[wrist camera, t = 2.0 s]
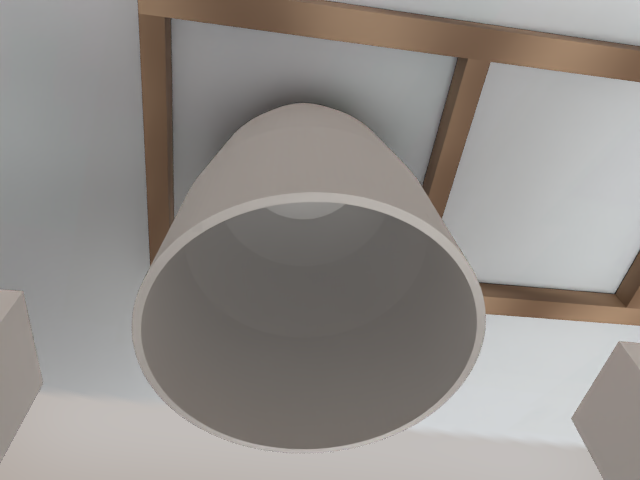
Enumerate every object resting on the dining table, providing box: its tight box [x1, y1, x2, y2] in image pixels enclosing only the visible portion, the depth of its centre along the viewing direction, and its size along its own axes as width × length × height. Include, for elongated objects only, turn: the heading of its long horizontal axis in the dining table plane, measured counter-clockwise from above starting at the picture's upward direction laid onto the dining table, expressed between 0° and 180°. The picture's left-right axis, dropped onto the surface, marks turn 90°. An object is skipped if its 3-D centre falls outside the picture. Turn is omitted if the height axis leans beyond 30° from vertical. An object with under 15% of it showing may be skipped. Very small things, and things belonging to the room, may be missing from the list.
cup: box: [132, 103, 486, 453], centre depth 16 cm, size 8×8×10 cm
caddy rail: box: [138, 0, 640, 326], centre depth 21 cm, size 33×12×1 cm, turn 82°
